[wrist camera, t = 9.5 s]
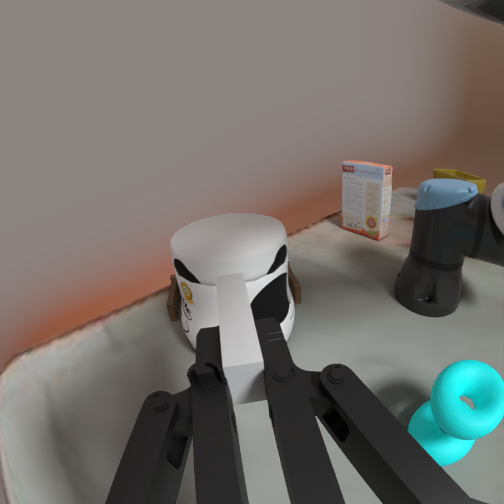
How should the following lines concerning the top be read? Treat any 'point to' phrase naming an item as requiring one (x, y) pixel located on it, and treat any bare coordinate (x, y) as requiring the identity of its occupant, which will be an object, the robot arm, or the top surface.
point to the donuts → (458, 410)
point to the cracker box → (366, 198)
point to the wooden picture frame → (175, 293)
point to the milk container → (232, 268)
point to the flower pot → (460, 177)
